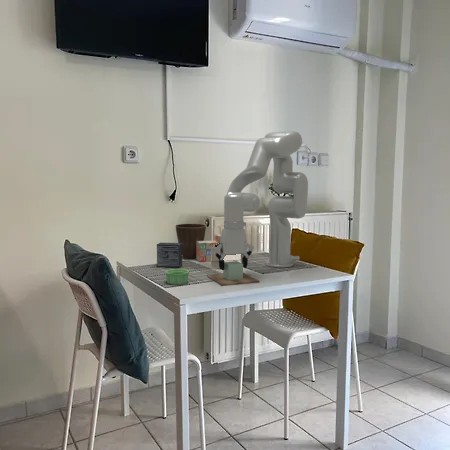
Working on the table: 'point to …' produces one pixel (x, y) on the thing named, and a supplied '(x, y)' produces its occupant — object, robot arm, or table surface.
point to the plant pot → (190, 238)
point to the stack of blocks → (206, 249)
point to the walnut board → (223, 281)
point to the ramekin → (177, 276)
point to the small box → (169, 255)
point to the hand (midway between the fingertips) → (233, 268)
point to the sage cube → (233, 270)
